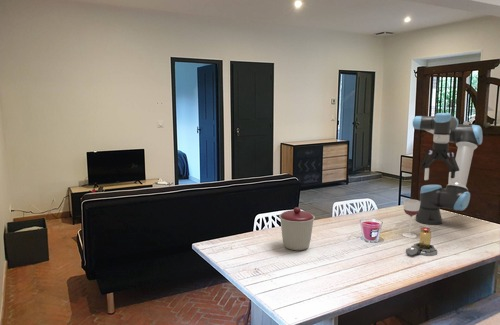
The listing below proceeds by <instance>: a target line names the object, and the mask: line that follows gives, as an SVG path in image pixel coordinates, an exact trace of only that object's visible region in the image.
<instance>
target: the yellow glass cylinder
mask: <svg viewBox="0 0 500 325" xmlns="http://www.w3.org/2000/svg"><path fill="white" fill-rule="evenodd" d="M431 239H432V232H431V228H430V227H426V226H425V227H424V226H423V227H421V230H420V231H419V240H418V243H419V247H420V248H422V249H430V245H431Z"/></svg>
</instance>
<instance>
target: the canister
mask: <svg viewBox="0 0 500 325" xmlns="http://www.w3.org/2000/svg"><path fill="white" fill-rule="evenodd" d="M278 217H279V219H280V226H281V236H282V238H281V239H282V242H283V245H284V247H285V248H286V249H288V250H291V251H303V250H307V249H308V248H309V247H310V243H311V241H312V240H311V239H312V233H313V225H314V220H315V218H316V217H315V215H313V214H312V213H311V212H310V211H306V210H301V208H300V207H299V206H298V207H297V206H296V207H294V208H293V209H292V210H286V211H284V212H282V213H280V214H279V215H278Z"/></svg>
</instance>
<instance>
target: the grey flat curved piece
mask: <svg viewBox="0 0 500 325" xmlns="http://www.w3.org/2000/svg"><path fill="white" fill-rule="evenodd" d="M405 253H406V255H407V256H409V257H410V256H414V255H416V254H417V255H419V256H425V257H427V256H428V257H431V256H436V255H437V254H438V250H437V249H436V248H435V246H434V245H432V244H430V249H422V248H420V247H419V242H416V243H413V245H411V246H410V247H408V248H406V249H405Z"/></svg>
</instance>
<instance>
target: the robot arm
mask: <svg viewBox="0 0 500 325" xmlns="http://www.w3.org/2000/svg"><path fill="white" fill-rule="evenodd" d="M412 128H413V129H414V130H423V131H426V132H428V133H430V134H432V135H433V138H432V139H433V140H432V141H433V143H432V150H431V149H430V150H427V151H426V154H425V156H424V157H423V160H422V162H421V163H420V167H422V168H423V171H422V172H423V174H424V178H423V179H424V181H428V180H430V178H429V177H430V166H431V164H433V163H434V161H436V160H437V161H443V162H444V163H445V165H446V167H447V168H448V169H449V170H450V171H449V172H448V184H446V186H445V188H443V187H442V185H441V184H426V185H425V184H424V185H422V186H421V187H420V192H419V201H420V208H419V212H418V213H417V214H416V215H415V221H416V222H418V223H421V224H424V225H429V226H430V225H431V226H432V225H435V226H436V225H437V226H438V225H442V223H443V217H442V214H441V208H444V209H449V210H454V211H461V212H462V211H464V210H466V208H468V206H469V204H470V200H471V193H470V192H469V189H468V187H467V184H468V178H469V174H470V169H471V164H472V160H473V155H474V151H475V150H476V149H477V148H478V146H479V145H482V143H483V129H482V127H481V126H480V125H477V124H459V119H458V118H457V117H456V116H453V115H452V113H450V112H437V113H435V115H434V116H433V115H431V116H430V115H429V116H427V115H416V116H414V117H413V119H412ZM449 143H452V144H455V145H456V147H457V151H456V155H455V152H449V149H450V147H449V146H450V144H449ZM431 155H432V156H431Z"/></svg>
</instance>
